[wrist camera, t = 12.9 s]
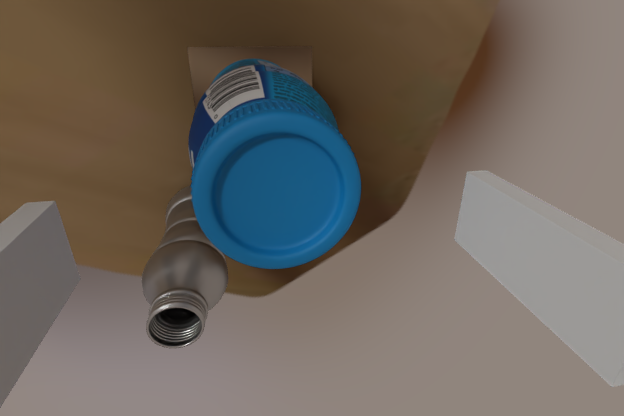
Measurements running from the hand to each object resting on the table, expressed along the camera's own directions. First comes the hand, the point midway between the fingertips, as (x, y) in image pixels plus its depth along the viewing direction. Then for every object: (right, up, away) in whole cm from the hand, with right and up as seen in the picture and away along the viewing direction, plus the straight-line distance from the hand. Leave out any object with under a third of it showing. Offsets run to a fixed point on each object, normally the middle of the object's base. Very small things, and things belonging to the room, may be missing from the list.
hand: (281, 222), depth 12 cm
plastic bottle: (-12, +1, +30) cm, 32 cm away
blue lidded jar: (-4, +9, +20) cm, 22 cm away
